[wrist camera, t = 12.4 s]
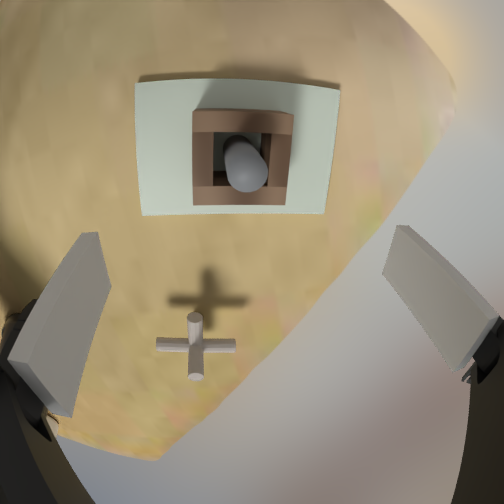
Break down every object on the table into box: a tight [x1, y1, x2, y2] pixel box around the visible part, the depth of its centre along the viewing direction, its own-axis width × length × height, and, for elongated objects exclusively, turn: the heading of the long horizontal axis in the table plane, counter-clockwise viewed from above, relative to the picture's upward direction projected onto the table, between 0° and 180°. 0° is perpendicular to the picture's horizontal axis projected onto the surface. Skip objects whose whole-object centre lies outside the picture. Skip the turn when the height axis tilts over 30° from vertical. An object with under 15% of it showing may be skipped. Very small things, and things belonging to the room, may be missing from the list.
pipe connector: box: [156, 312, 236, 381], centre depth 34 cm, size 10×10×10 cm
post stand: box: [135, 79, 340, 216], centre depth 23 cm, size 20×14×10 cm
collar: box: [192, 108, 294, 206], centre depth 24 cm, size 8×8×5 cm
